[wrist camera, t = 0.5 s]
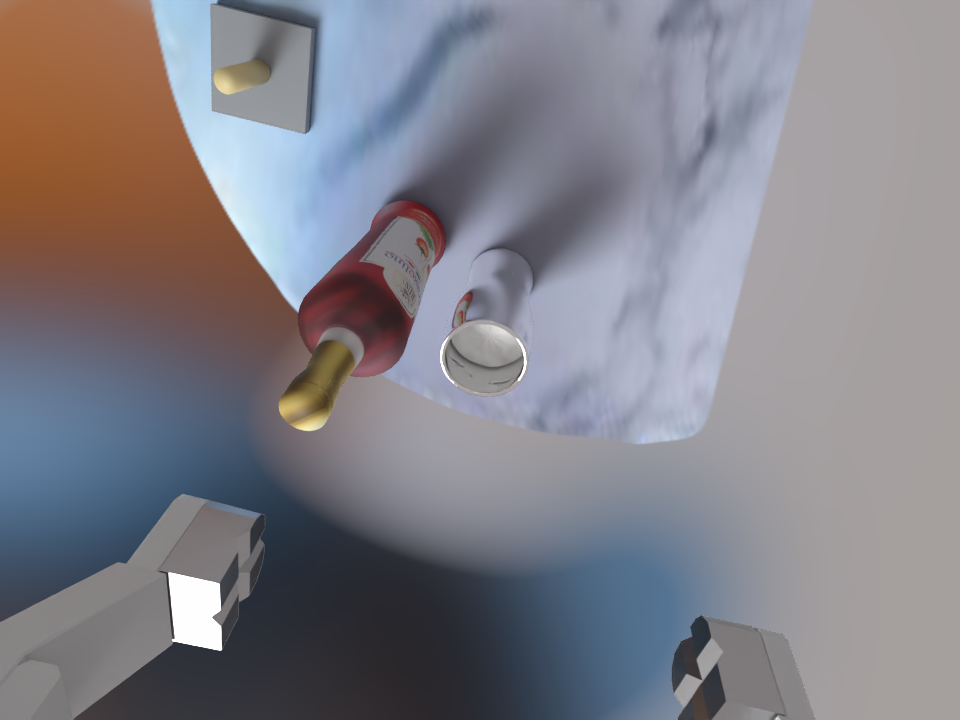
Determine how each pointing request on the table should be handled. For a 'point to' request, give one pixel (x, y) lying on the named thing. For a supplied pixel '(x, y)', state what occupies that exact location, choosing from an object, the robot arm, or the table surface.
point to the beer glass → (490, 326)
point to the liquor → (363, 309)
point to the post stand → (261, 68)
